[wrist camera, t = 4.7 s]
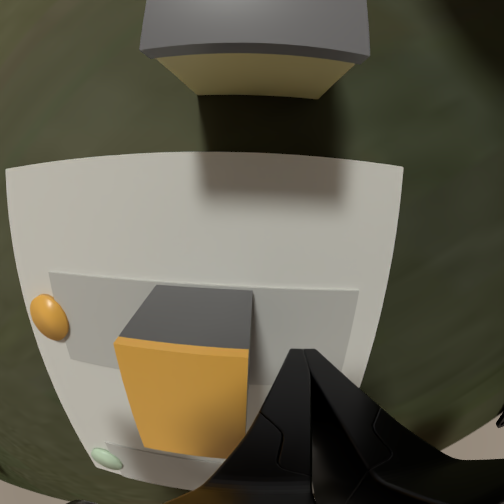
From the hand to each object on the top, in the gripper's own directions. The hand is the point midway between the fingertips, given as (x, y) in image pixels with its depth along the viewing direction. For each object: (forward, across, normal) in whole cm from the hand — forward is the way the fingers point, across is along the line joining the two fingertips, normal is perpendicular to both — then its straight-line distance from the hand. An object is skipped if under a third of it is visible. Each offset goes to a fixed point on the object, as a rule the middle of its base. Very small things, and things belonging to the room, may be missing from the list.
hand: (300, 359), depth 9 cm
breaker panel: (+3, +4, +3) cm, 6 cm away
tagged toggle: (+1, +3, 0) cm, 3 cm away
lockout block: (+3, +2, -10) cm, 10 cm away
